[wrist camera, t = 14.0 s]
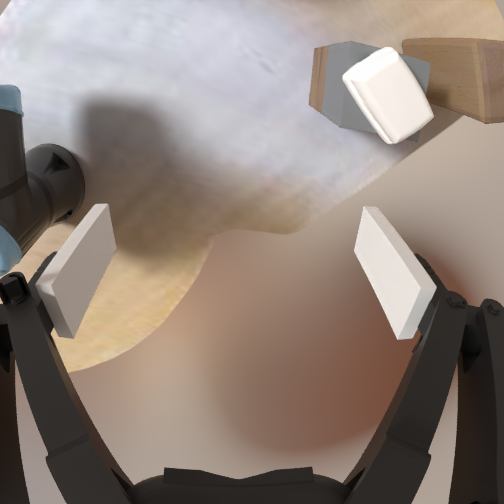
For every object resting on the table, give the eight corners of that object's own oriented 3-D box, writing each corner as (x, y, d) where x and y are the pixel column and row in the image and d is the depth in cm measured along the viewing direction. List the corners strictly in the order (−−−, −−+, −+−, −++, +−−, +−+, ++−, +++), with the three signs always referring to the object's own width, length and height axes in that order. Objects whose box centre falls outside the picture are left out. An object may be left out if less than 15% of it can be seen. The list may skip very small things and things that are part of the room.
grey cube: (321, 113, 37) (340, 127, 29) (328, 45, 32) (350, 41, 24) (386, 124, 37) (417, 141, 30) (395, 60, 32) (430, 63, 25)
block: (456, 93, 41) (536, 122, 25) (409, 98, 43) (485, 126, 26) (448, 38, 36) (530, 45, 19) (398, 39, 37) (475, 38, 21)
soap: (431, 114, 28) (445, 120, 25) (385, 147, 30) (396, 155, 28) (388, 42, 24) (401, 41, 22) (336, 76, 26) (345, 77, 24)
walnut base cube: (308, 104, 44) (321, 113, 37) (314, 48, 39) (328, 45, 32) (364, 113, 45) (386, 124, 37) (371, 59, 40) (395, 60, 32)
